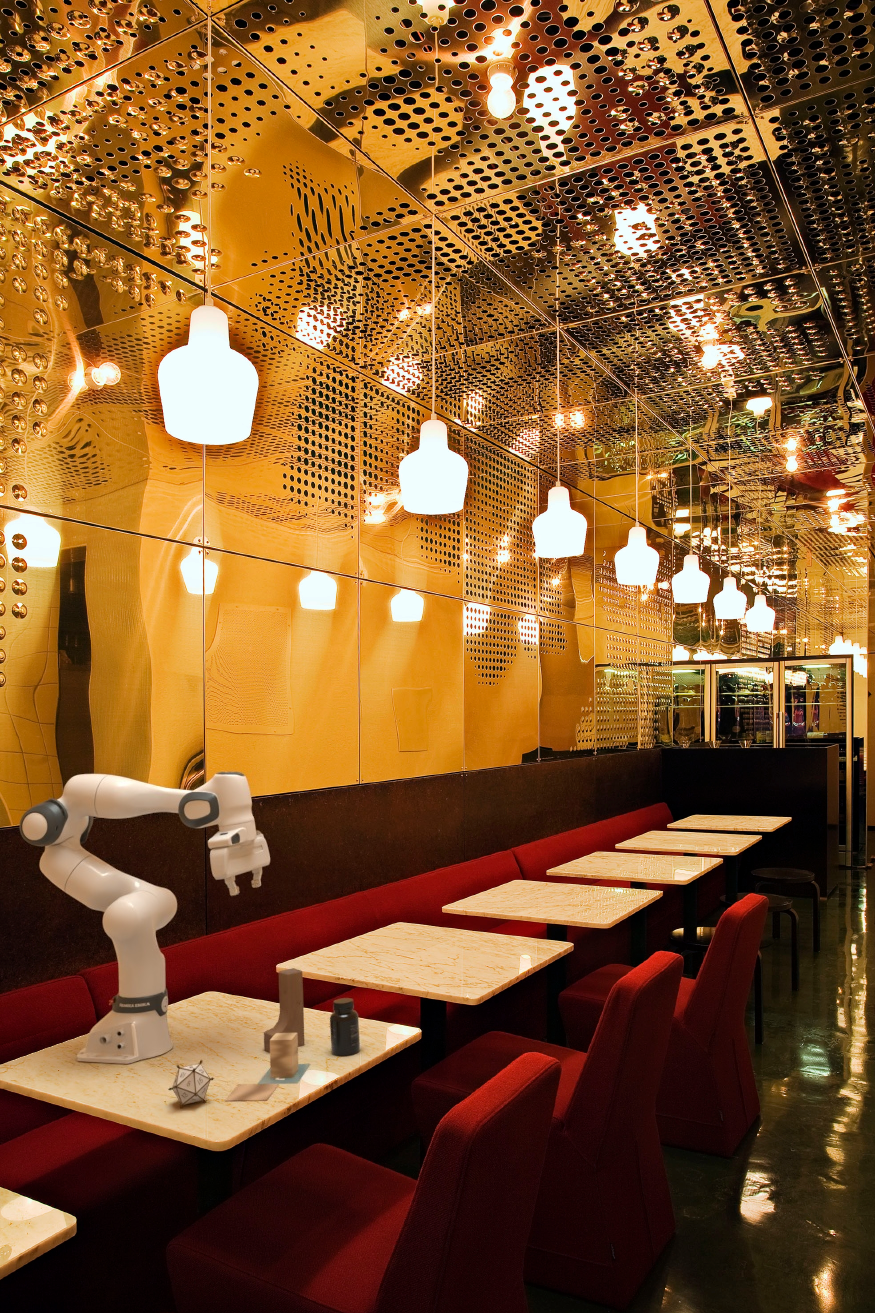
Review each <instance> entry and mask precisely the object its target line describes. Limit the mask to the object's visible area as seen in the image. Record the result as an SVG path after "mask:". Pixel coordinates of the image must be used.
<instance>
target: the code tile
mask: <svg viewBox="0 0 875 1313" xmlns="http://www.w3.org/2000/svg"><path fill="white" fill-rule="evenodd" d="M310 1066H311V1063H298V1071H297V1072H296V1074H295V1075H294V1076H293V1077H292V1078H271V1070H270V1068H268V1070H267V1071H266V1072H265V1073H264V1075H262V1078H260V1080H259V1081H258V1082H257V1084H279V1085H281V1084H282V1085H285V1084H287V1085H288V1084H289V1085H290V1084H292V1085H293V1084H299V1082H300V1081H301V1079H302V1078H303V1076H304V1075H305V1073H306V1072H307V1071H308V1069H309V1068H310Z"/></svg>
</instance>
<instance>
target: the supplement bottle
mask: <svg viewBox="0 0 875 1313" xmlns="http://www.w3.org/2000/svg"><path fill="white" fill-rule="evenodd" d="M332 1003H333V1009H332V1010H333V1012H332V1013H331V1014H330V1017H329V1028H330V1029H329V1030H330V1047H331V1048H330V1050H331V1053H332V1055H333V1056H336V1057H349V1056H353V1055H357V1054H358V1053H359V1052H360V1051H361V1047H360V1046H361V1045H360V1044H361V1043H360V1042H361V1041H360V1025H359V1022H360V1021H359V1013H358V1012H357V1011H356V1010H355V1009H354V1008H355V1005H354V999H353V998H349V997H343V998H338V999H335V1000H333V1002H332Z"/></svg>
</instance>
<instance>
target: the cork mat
mask: <svg viewBox="0 0 875 1313" xmlns="http://www.w3.org/2000/svg"><path fill="white" fill-rule="evenodd" d="M237 1084H238V1085H236V1087H235V1088H234V1089H233V1090H232V1091H231V1092H230V1093H229V1095H228V1096H227V1097H226V1098H225V1099H224V1102H225V1103H227V1102H267V1101H268V1100H269V1099H270V1097H271V1096H272V1095H273V1093H275V1091H276V1089H277V1088H278V1086H280V1084H258V1083H237Z"/></svg>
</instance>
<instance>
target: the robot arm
mask: <svg viewBox="0 0 875 1313" xmlns="http://www.w3.org/2000/svg"><path fill="white" fill-rule="evenodd" d="M252 806H253V802H252V795H251V788H250V786H249V782H248V779H247V777H246V775H245V774H244V773H242V772H239V771H220V772H216V773H215V774H214V775H213V776H212V778H210V779H209V780H208V781H207V782H206V783H204V784H203V785H201V786H199V787H197V788H196V789H194V790H193V789H184V788H183V789H181V788H173V787H172V788H171V787H165V786H164V787H163V786H158V785H155V784H152V783H147V782H143V781H140V780H137V779H133V778H129V777H125V776H119V775H114V774H105V773H84V774H77V775H74V776H72V777H70V778H69V779H68V780H67V782H66V784H65V785H64V787H63V792H62V795H61V797H59V798H58V799H56V798H52V797H51V798H49V799H47V800H45V801H42V802H40V803H38V804H36V805H34V806H32V807H30V808H29V809H27V810H26V811H25V812H24V813H23V815H22V816H21V819H20V822H19V833H20V835H21V837H22V838H23V840H24V841H25V842H27V843H28V844H30V845H32V846H35V847H36V846H37V847H44V852H43V853H42V855H41V857H40V858H39V859H40V860H39V869H40V871H41V873H42V874H43V875H44V876H45V877H46V878H47V879H48V880H49V881H50V882H51V883H52V884H53V885H55V886H56V887H57V888H59V889H60V890H62V891H63V892H64V893H66V894H67V895H69V896H70V897H72V898H73V899H75V900H77V901H78V902H80V903H82V904H83V905H85V906H86V907H87V908H89V909H91V910H95V911H100V912H103V916H102V928H103V930H104V932H105V933H106V935H107V936H108V937H109V938H110V940H111V941H112V943H113V947H114V950H115V953H116V958H117V963H118V965H117V966H118V993H117V994H116V995H115V996H113V997H112V999H110V1000H108V1003H109V1004H108V1005H109V1006H111V1005H112V1007H111V1008H112V1009H111V1010H110V1011H109V1012H108V1013H107V1014H106V1015H105V1016H104V1017H103V1018H101V1019H100V1020H99V1021H98V1022H97V1023H96V1024H95V1025H94V1026H92V1028H91V1029H90V1030H89V1034H88V1036H87V1041H86V1046H84V1047H83V1048H82V1049H81V1050H80V1051H78V1053H77V1054H76V1061H77V1062H90V1063H105V1064H107V1063H108V1064H120V1065H121V1064H125V1065H126V1064H132V1063H135V1062H137V1061H141V1060H145V1059H150V1058H154V1057H157V1056H160V1055H163V1054H165V1053H168V1052H169V1051H170V1050H172V1049H173V1047H174V1044H173V1042H172V1038H171V1034H170V1030H169V1023H168V1014H167V1012H168V1008H169V1007H168V1006H169V998H168V989H167V988H166V958H165V955H164V954H163V953H162V952H161V949H160V947H159V944H158V941H157V937H156V934H157V933H156V932H157V931H158V930H160V929H162V928H164V927H165V926H167V924H168V923H169V922H171V921H172V920H173V918H174V916H175V915H176V913H177V911H178V902H177V897H176V895H175V894H174V893H173V892H172V891H171V890H170V889H168V888H165V887H161V886H158V885H154V884H152V883H149V882H147V881H146V880H143V879H140V878H138V877H135V876H134V875H133V876H132V875H130V874H128V873H125V872H124V871H121V870H120V869H119V870H118V869H116V868H115V867H114V866H112V865H110V864H109V863H107V862H105V861H104V860H102V859H100V858H99V857H97V856H96V855H94V854H92V853H90V852H89V851H87V850H86V849H85V848H84V847H83V846H82V845H83V844H85V843H86V842H87V839H88V837H89V833H90V831H91V829H92V826H93V823H94V817H95V818H102V819H103V818H104V819H116V820H117V819H127V818H128V819H129V818H130V819H131V818H135V817H139V816H142V815H148V814H153V813H154V814H155V813H173V814H175V813H176V814H178V815H179V819H180V821H181V822H182V823H183V824H184V825H185V826H186V827H188V828H192V829H202V828H207V827H211V826H216V825H217V826H218V830H219V831H217V832H216V833H215V834H214V835H213V836H212V837H210V838H209V840H207V846H208V848H209V849H210V852H209V853H210V854H209V858H210V859H209V860H210V862H209V863H210V868H211V873H212V876H213V877H214V879H215V880H216V881H217V880H224V883H225V885H226V886H227V888H228V890H229V895H230V896H231V897H233V896H236V895H239V894H240V887H239V886H238V885H237V884H236V882H235V881H236V876H238V875H241V874H244V873H247V872H251V873H252V874H253V877H252V880H251V881H250V882H251V887H252V888H259V887H261V886H262V882H261V879H262V875H263V867H266V866H269V865H270V863H271V857H270V856H271V854H270V851H269V850H270V849H269V847H268V843H267V840H266V838H265V837H264V834H263V833H262V832H261V831H260V830H257V829H256V822H255V818H254V816H253V815H254V814H253V810H252Z"/></svg>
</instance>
